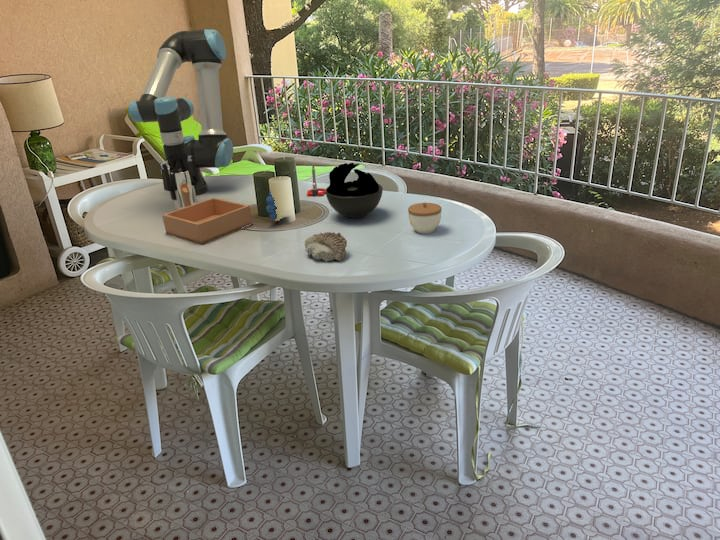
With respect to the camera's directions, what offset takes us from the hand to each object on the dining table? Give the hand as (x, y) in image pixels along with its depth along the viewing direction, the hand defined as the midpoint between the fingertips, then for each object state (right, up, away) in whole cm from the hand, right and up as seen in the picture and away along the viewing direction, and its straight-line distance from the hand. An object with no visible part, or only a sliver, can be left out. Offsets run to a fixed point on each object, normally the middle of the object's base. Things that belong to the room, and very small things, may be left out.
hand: (186, 204), depth 205 cm
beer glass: (0, -2, +1) cm, 2 cm away
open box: (+12, -10, -11) cm, 19 cm away
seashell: (+55, -20, -39) cm, 70 cm away
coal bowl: (+63, -5, -8) cm, 64 cm away
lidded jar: (+86, -11, -24) cm, 90 cm away
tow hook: (+47, +7, +22) cm, 52 cm away
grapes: (+36, -7, -9) cm, 38 cm away
